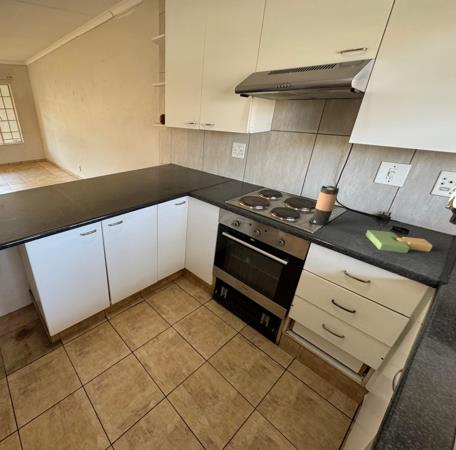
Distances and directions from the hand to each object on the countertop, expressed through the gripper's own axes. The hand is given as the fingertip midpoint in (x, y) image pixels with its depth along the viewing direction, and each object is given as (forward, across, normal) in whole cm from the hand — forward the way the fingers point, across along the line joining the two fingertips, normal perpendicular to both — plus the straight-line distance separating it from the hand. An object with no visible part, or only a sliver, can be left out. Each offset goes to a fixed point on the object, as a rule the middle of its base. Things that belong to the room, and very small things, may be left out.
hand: (455, 223), depth 102 cm
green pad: (+13, -20, 0) cm, 24 cm away
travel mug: (+13, -43, +16) cm, 48 cm away
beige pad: (+13, -10, 0) cm, 17 cm away
